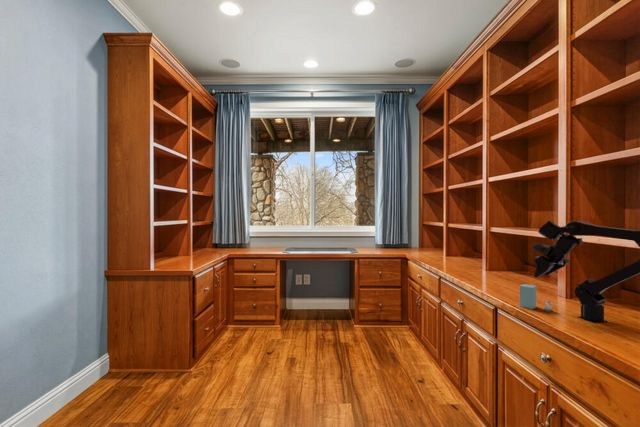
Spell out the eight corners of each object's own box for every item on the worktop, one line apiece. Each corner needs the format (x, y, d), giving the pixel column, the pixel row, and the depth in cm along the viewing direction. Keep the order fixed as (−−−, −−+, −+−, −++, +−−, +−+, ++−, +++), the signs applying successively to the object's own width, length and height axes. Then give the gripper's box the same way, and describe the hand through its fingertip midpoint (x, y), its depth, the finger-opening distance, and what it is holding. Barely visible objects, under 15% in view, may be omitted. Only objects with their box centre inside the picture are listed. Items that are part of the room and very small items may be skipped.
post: (554, 311, 136) (554, 302, 136) (548, 312, 135) (548, 302, 135) (548, 309, 139) (548, 300, 139) (542, 309, 138) (542, 300, 138)
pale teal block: (536, 306, 142) (536, 286, 142) (532, 309, 139) (532, 287, 139) (523, 304, 146) (523, 284, 146) (519, 306, 143) (519, 285, 143)
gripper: (554, 235, 145) (534, 262, 152) (533, 237, 135) (512, 265, 142) (579, 250, 137) (557, 278, 144) (559, 253, 127) (536, 283, 134)
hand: (540, 275), depth 141 cm, fingers open, 9 cm apart
